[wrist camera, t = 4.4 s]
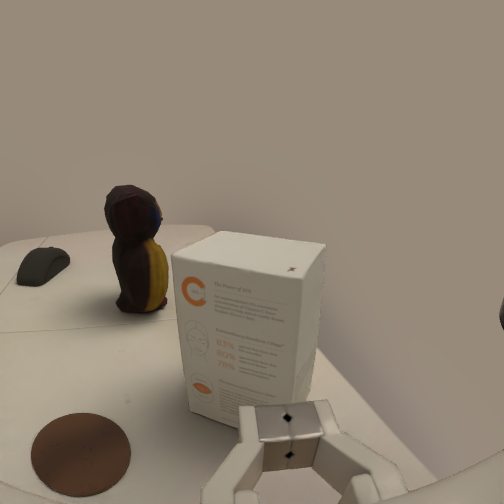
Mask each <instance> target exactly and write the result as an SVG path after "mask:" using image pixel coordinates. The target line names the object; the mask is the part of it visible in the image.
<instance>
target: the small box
mask: <svg viewBox="0 0 504 504" xmlns="http://www.w3.org/2000/svg"><path fill="white" fill-rule="evenodd" d="M325 258H326V244H318V243H312V242H304V241H297V240H290V239H289V240H288V239H282V238H275V237H267V236H259V235H251V234H243V233H236V232H228V231H220V232H217V233H215V234H213V235H211V236H209V237H207V238H204V239H202V240H200V241H198V242H196V243H194V244H192V245H190V246H188V247H185V248H183V249H181V250H179V251H177V252H175V253H173V254H172V255H171V261H172V271H173V282H174V293H175V303H176V313H177V323H178V331H179V339H180V347H181V356H182V363H183V371H184V377H185V384H186V390H187V396H188V402H189V408H190V411H192V412H195V413H198V414H200V415H203V416H205V417H208V418H210V419H213V420H216V421H218V422H221V423H224V424H226V425H229V426H232V427H235V428H238V429H239V406H256V405H281V404H290V403H300V402H305V400H306V398H307V396H308V394H309V392H310V387H311V380H312V374H313V367H314V361H315V354H316V347H317V338H318V330H319V320H320V313H321V304H322V294H323V284H324V272H325Z"/></svg>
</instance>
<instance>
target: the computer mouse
mask: <svg viewBox="0 0 504 504" xmlns="http://www.w3.org/2000/svg"><path fill="white" fill-rule="evenodd" d="M69 264H70V257H69V255H68V254H67V253H66V252H65V251H64V250H62V249H59V248H53V247H49V248H36V249H34V250H32V251H31V252H29V253H28V254H27V255H26V257H25V258H24V260H23V261H22V263H21V265H20V267H19V270H18V274H17V284H18V285H25V286H41V285H43V284H45V283H46V282H48V281H49V280H50V279H51V278H53V277H54V276H55V275H57V274H58V273H59V272H60V271H62V270H63V269H64V268H66V267H67V266H68V265H69Z"/></svg>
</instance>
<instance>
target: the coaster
mask: <svg viewBox="0 0 504 504" xmlns="http://www.w3.org/2000/svg"><path fill="white" fill-rule="evenodd" d="M130 457H131V449H130V444H129V441H128V438H127V436H126V434H125V433H124V431H123V430H122V429H121V428H120V427H119V426H118V425H117V424H116V423H115V422H113V421H111V420H110V419H108V418H106V417H103V416H100V415H96V414H91V413H75V414H69V415H65V416H62V417H60V418H57V419H55V420H53V421H52V422H50V423H49V424H47V425H46V426H45V427H44V428H43V429H42V430H41V431H40V432H39V433H38V435H37V436H36V438H35V440H34V442H33V445H32V450H31V460H32V465H33V467H34V470H35V472H36V473H37V475H38V476H39V478H40V479H41V480H42V481H43V482H44V483H45V484H46V485H47V486H49V487H50V488H51V489H53V490H55V491H57V492H59V493H62V494H65V495H70V496H90V495H95V494H98V493H101V492H103V491H105V490H107V489H109V488H111V487H112V486H113V485H115V484H116V483H117V482H118V481H119V480H120V479H121V478H122V476H123V475H124V474H125V472H126V470H127V468H128V465H129V463H130Z"/></svg>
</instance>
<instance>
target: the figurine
mask: <svg viewBox="0 0 504 504" xmlns="http://www.w3.org/2000/svg"><path fill="white" fill-rule="evenodd" d="M106 199H107V200H106V204H105V208H104V210H105V217H106V220H107V223H108V225H109V227H110V230H111V231H112V233H113V235H114V236H115V240H114V243H113V246H112V261H113V264H114V267H115V270H116V274H117V277H118V280H119V284H120V288H121V294H120V296H119V298H118V299H117V301H116V305H117V306H118V308H119V309H120V310H121V311H126V312H149V311H154V310H156V309H159V308H161V307H163V306H165V305H166V304H167V298H166V297H165V295H166V292H167V289H168V269H169V267H168V263H167V259H166V255H165V253H164V251H163V250H162V248H161V246H160V245H157V244H156V243H155V241H154V239H153V238H154V236H155V235H156V233H157V231H158V229H159V227H160V225H161V221H162V220H163V218H162V217H161V216H162V213H161V210H160V207H159V205H158V203H157V201H156V199H155V198H154V197H153V196H152V195H151V194H150V193H148V192H147V191H145V190H143V189H140V188H138V187H135V186H133V185H124V186H115V187H114V188H113V189H112V190H111V192H110V193H109V194H108V195H107V197H106Z"/></svg>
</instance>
